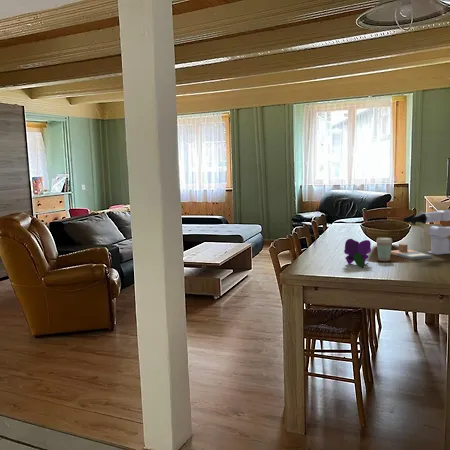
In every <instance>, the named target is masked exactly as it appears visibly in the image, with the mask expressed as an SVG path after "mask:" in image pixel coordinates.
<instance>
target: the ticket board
mask: <svg viewBox="0 0 450 450" xmlns="http://www.w3.org/2000/svg"><path fill="white" fill-rule="evenodd" d="M432 255H433V254H429V253H428V254H427V253H425V252H419V251H417V252H409V253H398V257H400V258H403V259H407V260H410V261H413V260H425V259H432Z"/></svg>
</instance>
